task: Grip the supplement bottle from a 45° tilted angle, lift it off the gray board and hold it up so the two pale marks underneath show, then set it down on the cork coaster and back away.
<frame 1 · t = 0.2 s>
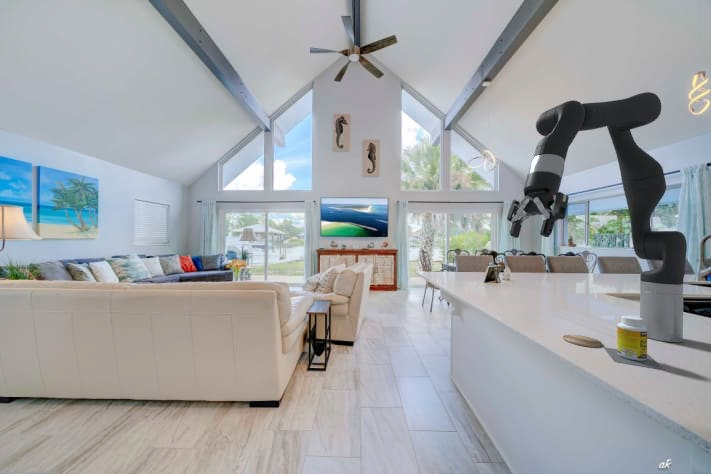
hand: (528, 236, 71), 31 cm above the table, tool tilted 20°, fingers open, 8 cm apart
cork coaster: (581, 341, 85), on the table
gray board: (631, 357, 74), on the table
supplement bottle: (631, 358, 74), resting on gray board
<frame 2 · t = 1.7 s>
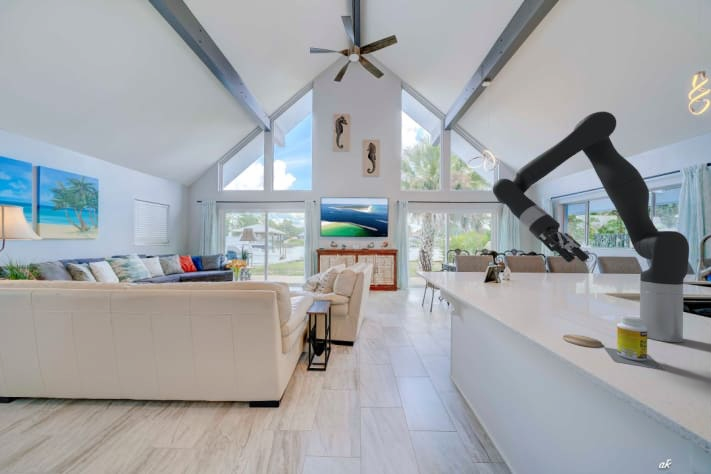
hand: (579, 260, 84), 24 cm above the table, tool tilted 45°, fingers open, 8 cm apart
nothing on the table moved.
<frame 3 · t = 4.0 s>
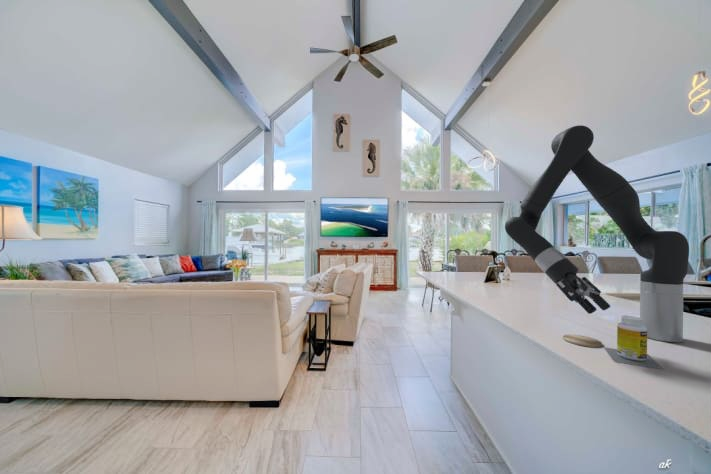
hand: (600, 310, 79), 11 cm above the table, tool tilted 45°, fingers open, 8 cm apart
nothing on the table moved.
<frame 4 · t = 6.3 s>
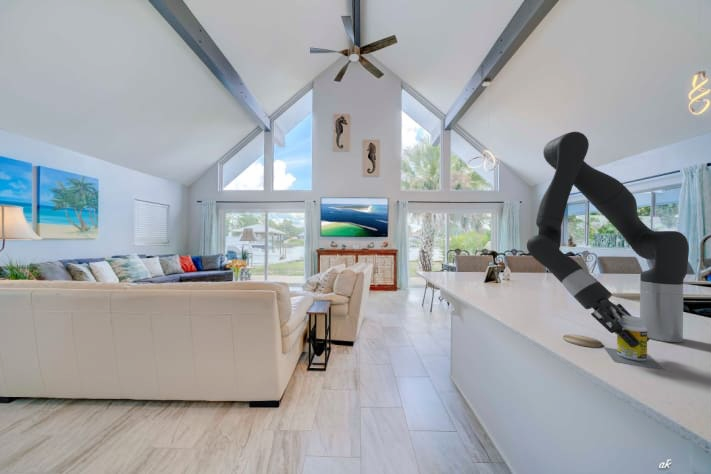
hand: (641, 343, 72), 4 cm above the table, tool tilted 45°, fingers closed on supplement bottle, 5 cm apart
supplement bottle: (631, 358, 74), resting on gray board, touching gripper
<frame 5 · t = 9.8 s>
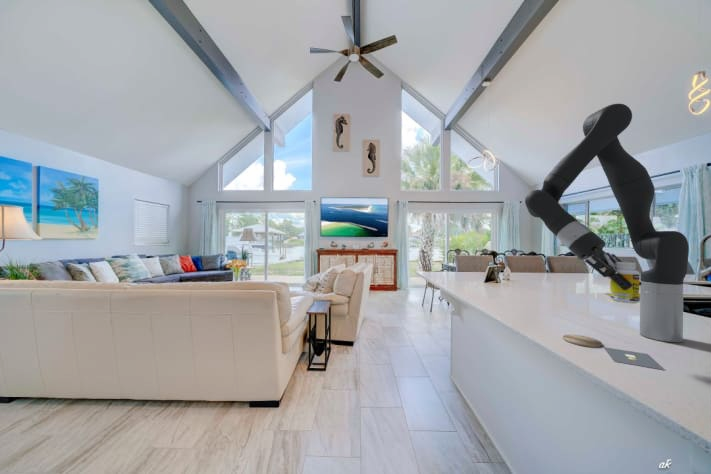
hand: (633, 287, 74), 18 cm above the table, tool tilted 45°, fingers closed on supplement bottle, 5 cm apart
supplement bottle: (624, 302, 75), point 14 cm above the table, touching gripper
when the fingers open (6 cm above the table, at t = 13.2 s): supplement bottle drops 1 cm, resting on cork coaster.
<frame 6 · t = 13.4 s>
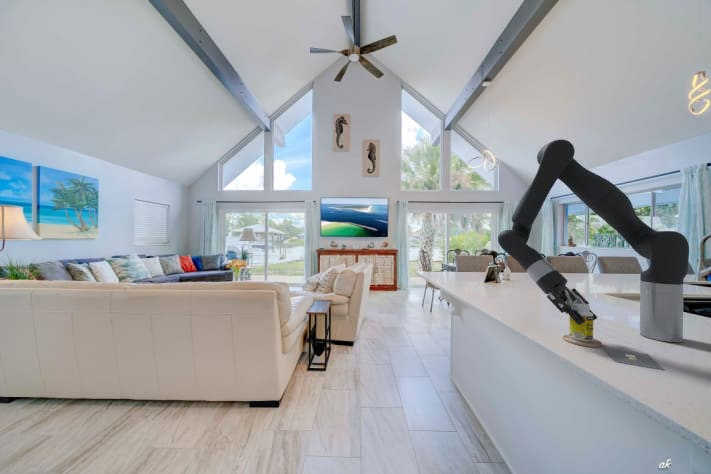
hand: (588, 321, 84), 6 cm above the table, tool tilted 45°, fingers open, 7 cm apart
supplement bottle: (581, 339, 85), resting on cork coaster
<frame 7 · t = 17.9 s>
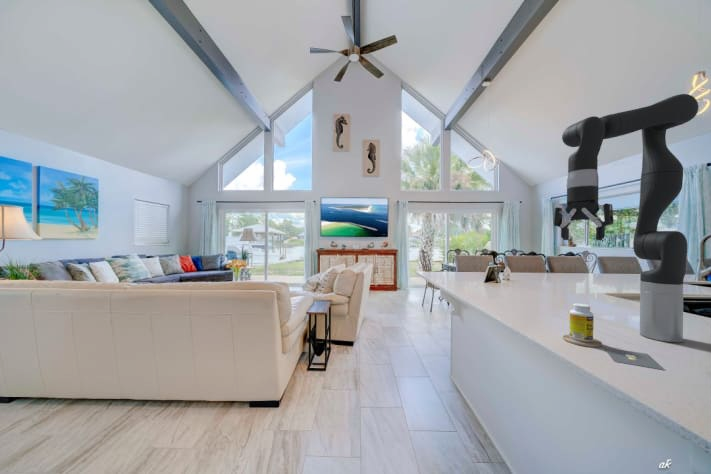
hand: (581, 240, 87), 30 cm above the table, tool pointing down, fingers open, 8 cm apart
nothing on the table moved.
at the end: supplement bottle 0.3 cm from the cork coaster (horizontally); supplement bottle tilted 0°; the gripper is holding nothing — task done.
